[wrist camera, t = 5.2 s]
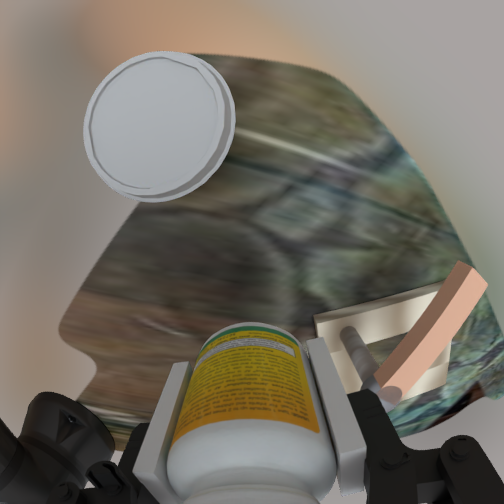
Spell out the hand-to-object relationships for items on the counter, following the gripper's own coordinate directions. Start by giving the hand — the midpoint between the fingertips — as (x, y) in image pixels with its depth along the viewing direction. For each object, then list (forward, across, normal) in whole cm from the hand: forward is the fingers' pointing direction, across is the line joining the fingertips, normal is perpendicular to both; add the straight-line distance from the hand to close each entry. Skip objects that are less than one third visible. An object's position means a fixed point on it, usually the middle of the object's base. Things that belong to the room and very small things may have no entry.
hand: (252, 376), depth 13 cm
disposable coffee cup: (+17, -3, +13) cm, 22 cm away
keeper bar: (+6, +11, -5) cm, 14 cm away
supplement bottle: (+1, 0, 0) cm, 1 cm away
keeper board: (+17, +13, -13) cm, 25 cm away
